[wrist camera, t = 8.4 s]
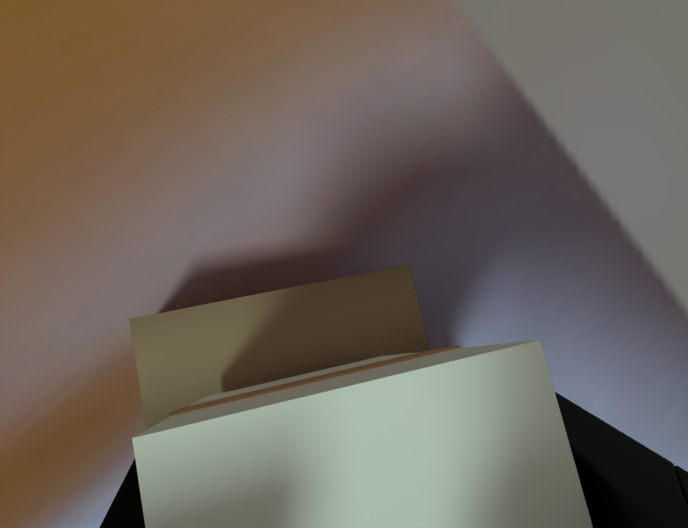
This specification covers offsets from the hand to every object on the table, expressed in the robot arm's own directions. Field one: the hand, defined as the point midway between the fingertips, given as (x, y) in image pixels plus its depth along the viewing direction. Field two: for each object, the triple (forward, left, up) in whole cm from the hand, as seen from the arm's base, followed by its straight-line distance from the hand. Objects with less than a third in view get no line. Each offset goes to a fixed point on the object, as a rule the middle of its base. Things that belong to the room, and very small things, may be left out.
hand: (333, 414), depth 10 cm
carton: (-1, 0, -7) cm, 7 cm away
